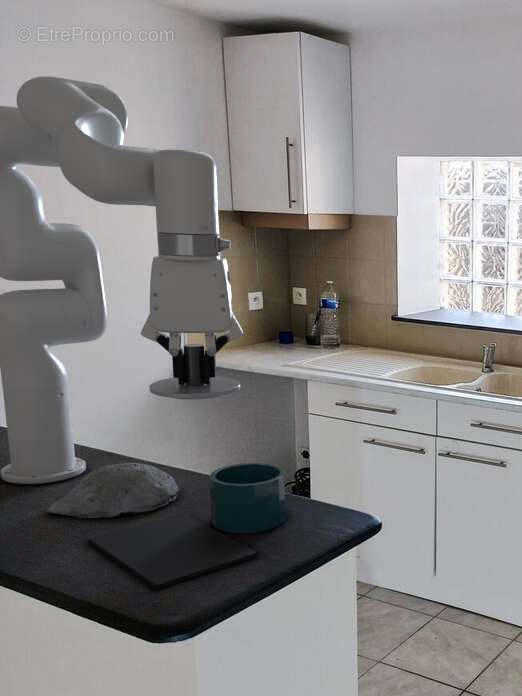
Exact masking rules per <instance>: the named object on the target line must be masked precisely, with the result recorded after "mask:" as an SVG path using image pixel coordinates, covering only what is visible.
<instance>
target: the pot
mask: <svg viewBox="0 0 522 696" xmlns="http://www.w3.org/2000/svg"><path fill="white" fill-rule="evenodd" d="M285 479H286V471H285V469H284V468H283V467H281V466H278V465H275V464H272V463H265V462H263V463H262V462H247V463H246V462H243V463H236V464H230V465H226V466H223V467H219V468H218V469H215V470H214V471H212V472H211V473H210V475H209V492H210V493H209V494H210V514H211V516H210V517H211V523H212V526H213V527H214V529H215V530H217V531H219V532H225V533H229V534H255V533H261V532H265V531H269V530H272V529H275V528H276V527H279V526H280V525H282V524H283V523H284V522H285V521H286V518H287V517H286V512H287V511H286V480H285Z"/></svg>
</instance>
